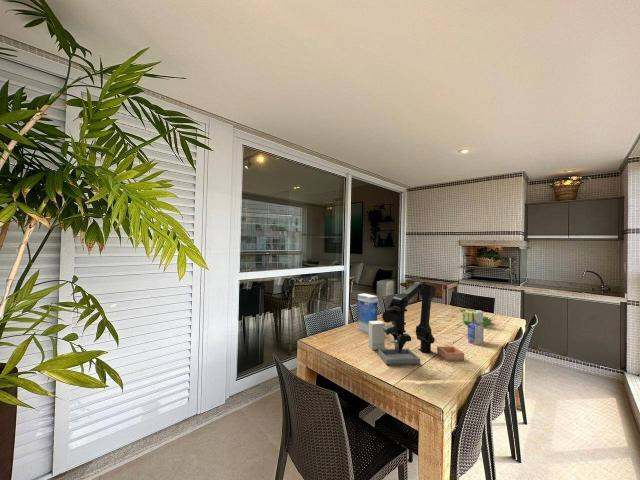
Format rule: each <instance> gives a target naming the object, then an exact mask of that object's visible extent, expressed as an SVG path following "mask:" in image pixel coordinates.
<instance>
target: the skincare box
mask: <svg viewBox="0 0 640 480" xmlns="http://www.w3.org/2000/svg"><path fill="white" fill-rule="evenodd" d="M384 326H386V322H384V321H382V320H377V321H369V334H368V347H369V348H370V349H371V350H372V351H375V350H376V351H377V350H378V349H386V347H385V343H386V339H385V335H386V333H385V332H384V329H383V327H384Z"/></svg>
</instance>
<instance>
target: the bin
mask: <svg viewBox="0 0 640 480" xmlns="http://www.w3.org/2000/svg"><path fill="white" fill-rule="evenodd" d="M436 354H437V355H438V356H440V357H441V358H442V359H444V361H447V362H449V361H450V362H451V361H452V362H453V361H454V362H455V361H456V362H457V361H465V352H463V351H462V350H461V349H459V348H458V347H456V346H452V345H449V346H448V345H447V346H444V345H443V346H441V345H439V346H438V345H437V347H436Z"/></svg>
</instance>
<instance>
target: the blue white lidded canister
mask: <svg viewBox="0 0 640 480" xmlns="http://www.w3.org/2000/svg"><path fill="white" fill-rule="evenodd" d="M369 321H378V295H374V294H369V293H358V294H357V330H359V331H361V332H364V333H366V334H368V335H369Z"/></svg>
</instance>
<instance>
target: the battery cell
mask: <svg viewBox="0 0 640 480" xmlns="http://www.w3.org/2000/svg"><path fill="white" fill-rule="evenodd" d="M394 349H395V352H396V353H402V350H401V351H400V350H399V346H398V340H397V339H396V340H395V341H394Z"/></svg>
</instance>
